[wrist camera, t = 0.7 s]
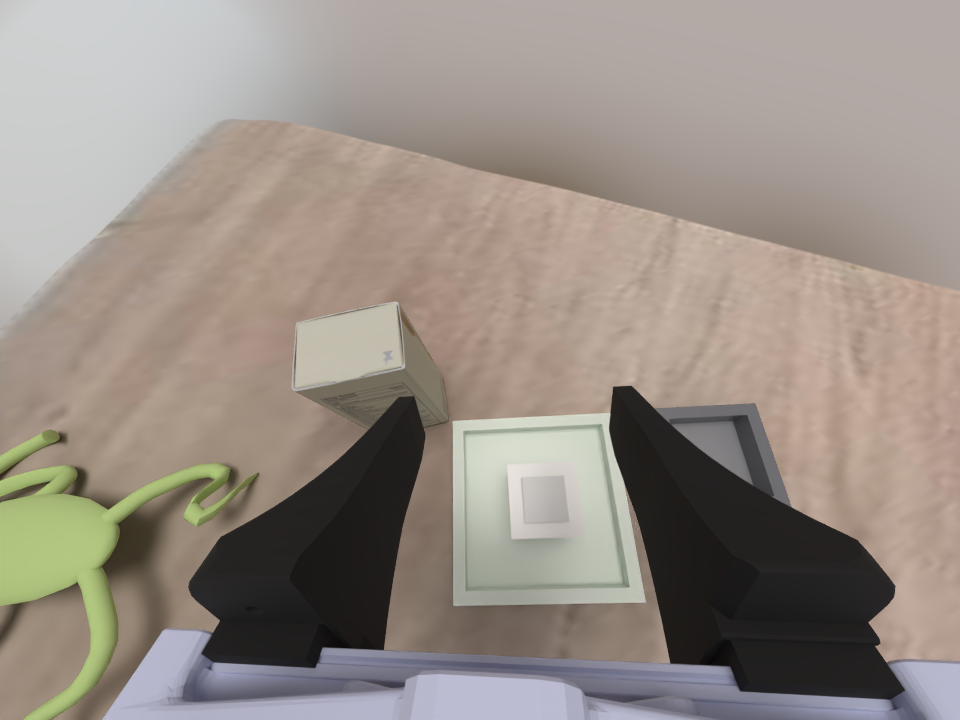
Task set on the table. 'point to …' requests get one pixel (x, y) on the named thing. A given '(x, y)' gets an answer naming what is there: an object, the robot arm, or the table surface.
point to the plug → (544, 501)
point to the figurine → (78, 547)
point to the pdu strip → (732, 442)
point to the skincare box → (366, 365)
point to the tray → (541, 561)
